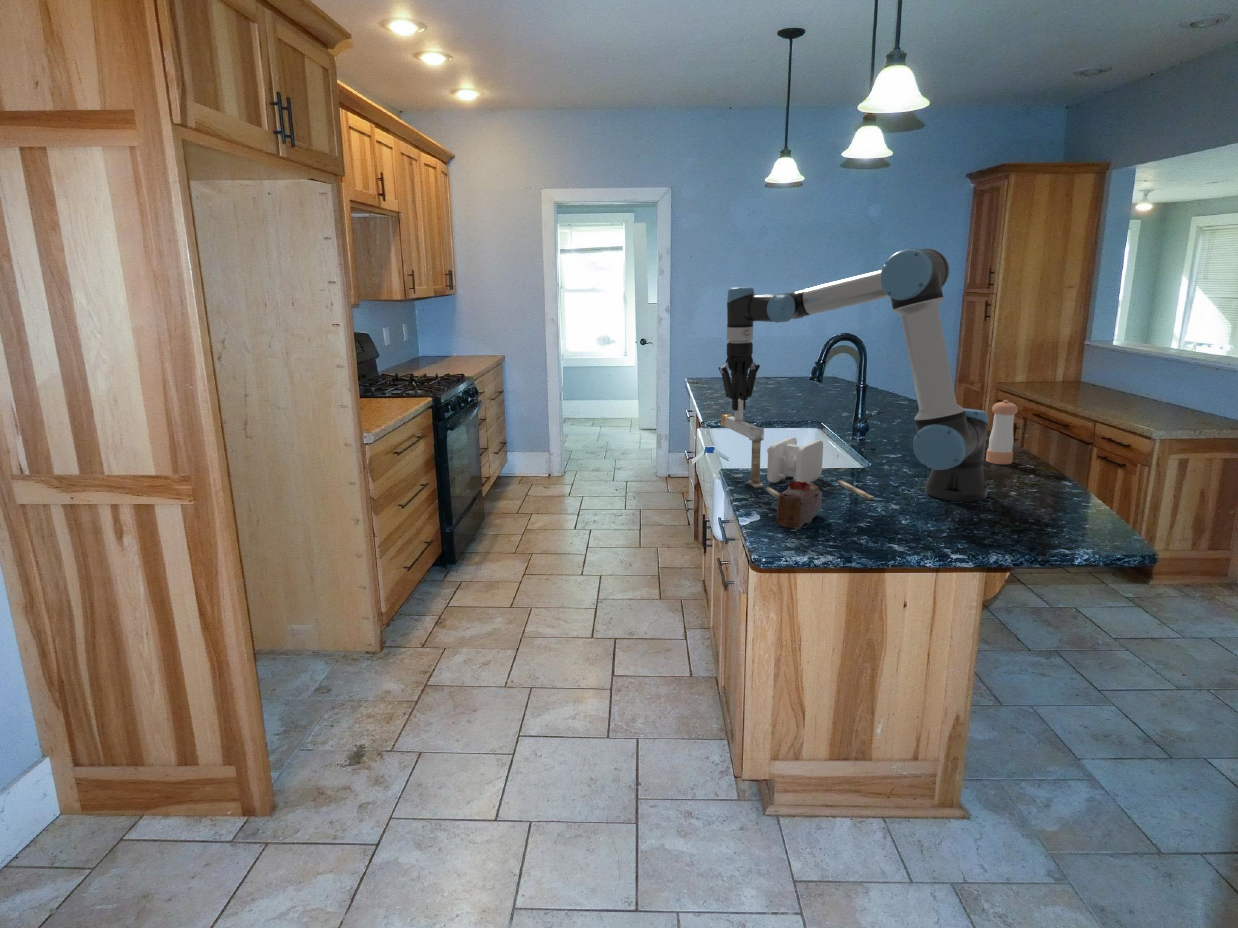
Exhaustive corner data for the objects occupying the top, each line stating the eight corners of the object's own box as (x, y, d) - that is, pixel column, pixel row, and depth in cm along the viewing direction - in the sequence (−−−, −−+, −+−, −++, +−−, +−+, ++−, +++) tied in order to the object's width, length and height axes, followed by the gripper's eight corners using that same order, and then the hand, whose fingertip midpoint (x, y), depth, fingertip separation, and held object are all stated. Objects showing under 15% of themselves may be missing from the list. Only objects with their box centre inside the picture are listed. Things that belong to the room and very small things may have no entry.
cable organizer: (799, 490, 202) (801, 449, 199) (764, 484, 208) (766, 444, 205) (822, 478, 213) (824, 439, 210) (788, 472, 219) (790, 434, 216)
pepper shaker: (1016, 464, 223) (1024, 402, 218) (992, 464, 223) (999, 402, 218) (1005, 458, 230) (1012, 397, 225) (981, 458, 230) (988, 398, 225)
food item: (792, 509, 186) (793, 472, 184) (823, 514, 182) (825, 476, 180) (773, 526, 175) (774, 486, 173) (805, 531, 171) (807, 491, 169)
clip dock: (873, 499, 193) (876, 452, 189) (786, 508, 187) (788, 460, 184) (826, 475, 216) (828, 432, 212) (747, 482, 210) (748, 439, 207)
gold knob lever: (730, 424, 225) (730, 414, 224) (766, 440, 203) (766, 429, 202) (718, 425, 224) (718, 414, 223) (753, 441, 202) (753, 430, 201)
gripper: (726, 344, 208) (726, 425, 214) (765, 341, 213) (763, 421, 219) (713, 342, 215) (713, 421, 221) (751, 339, 219) (750, 416, 225)
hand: (738, 421), depth 220 cm, fingers closed
